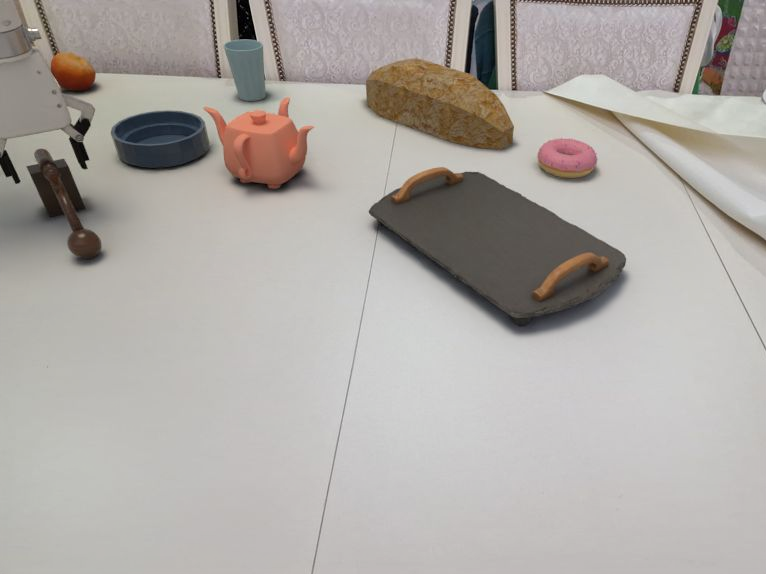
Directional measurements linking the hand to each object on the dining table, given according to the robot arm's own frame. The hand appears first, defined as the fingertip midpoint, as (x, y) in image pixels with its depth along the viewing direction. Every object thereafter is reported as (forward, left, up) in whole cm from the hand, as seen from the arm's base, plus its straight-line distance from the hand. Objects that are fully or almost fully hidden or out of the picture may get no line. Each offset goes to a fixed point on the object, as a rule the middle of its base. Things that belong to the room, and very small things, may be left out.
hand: (50, 172), depth 89 cm
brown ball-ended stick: (+2, -5, -7) cm, 9 cm away
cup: (+29, +45, -7) cm, 54 cm away
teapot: (+31, +8, -7) cm, 32 cm away
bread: (+64, +25, -7) cm, 69 cm away
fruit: (-6, +55, -7) cm, 56 cm away
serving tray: (+61, -23, -7) cm, 65 cm away
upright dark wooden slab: (-1, +2, -7) cm, 7 cm away
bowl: (+13, +20, -7) cm, 25 cm away
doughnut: (+83, 0, -7) cm, 83 cm away
